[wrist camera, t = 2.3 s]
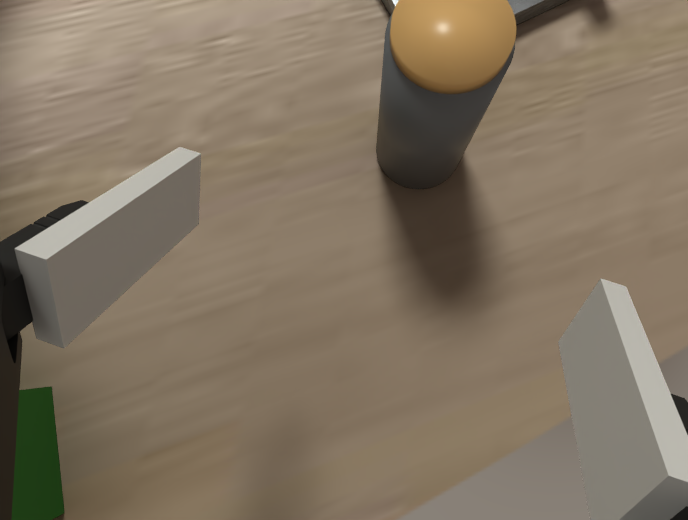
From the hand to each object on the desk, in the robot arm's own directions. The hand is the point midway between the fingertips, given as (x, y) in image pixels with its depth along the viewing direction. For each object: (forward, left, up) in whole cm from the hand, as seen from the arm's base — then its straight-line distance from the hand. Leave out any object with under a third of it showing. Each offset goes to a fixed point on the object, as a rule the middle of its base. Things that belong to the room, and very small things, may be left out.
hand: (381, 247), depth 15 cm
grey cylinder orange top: (-7, +7, -15) cm, 18 cm away
